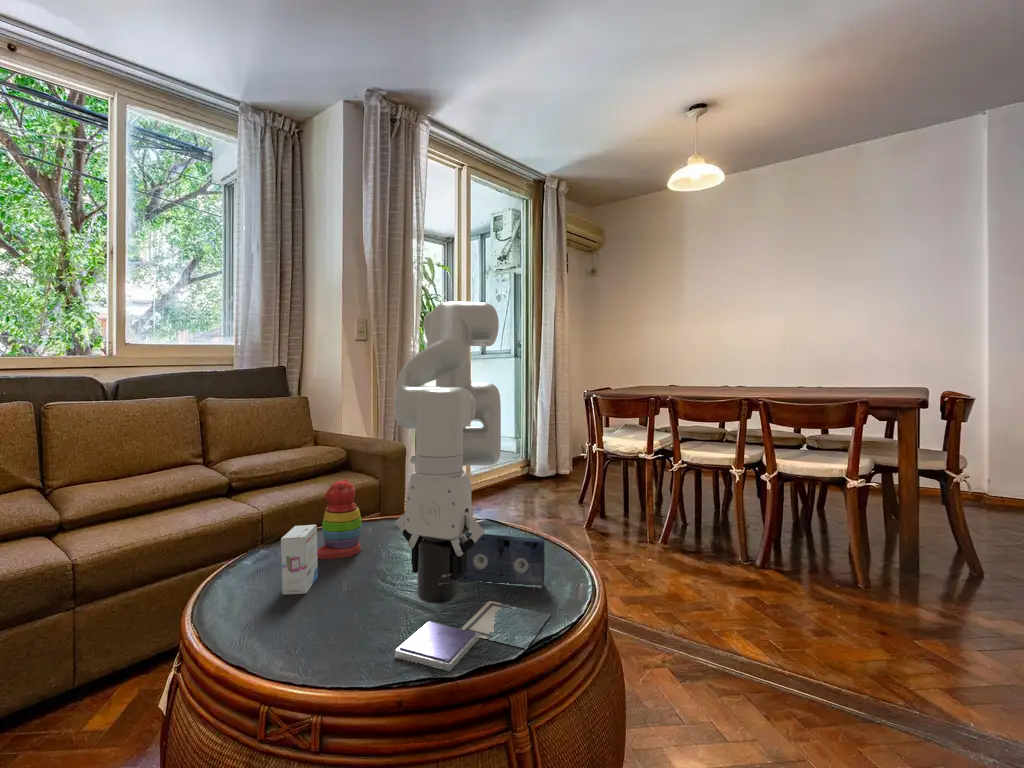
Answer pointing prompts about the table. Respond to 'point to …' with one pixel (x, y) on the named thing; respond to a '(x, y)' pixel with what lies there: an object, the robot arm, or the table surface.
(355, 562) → the table surface
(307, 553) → the ink box
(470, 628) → the marked card
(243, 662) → the table surface
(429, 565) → the supplement bottle
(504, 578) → the vhs cassette tape
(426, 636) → the ink pad
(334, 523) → the stacking bear
